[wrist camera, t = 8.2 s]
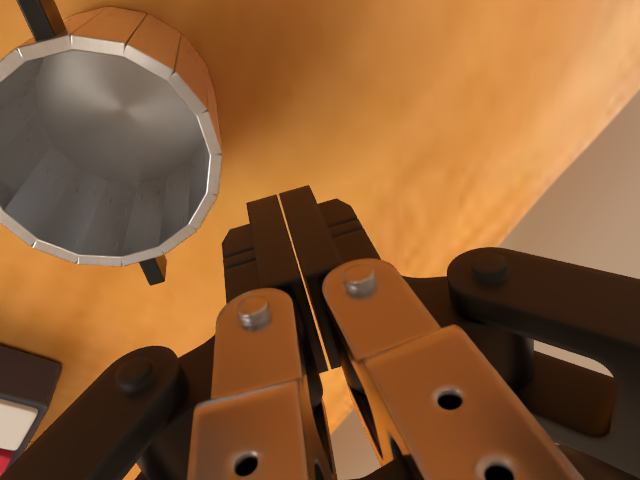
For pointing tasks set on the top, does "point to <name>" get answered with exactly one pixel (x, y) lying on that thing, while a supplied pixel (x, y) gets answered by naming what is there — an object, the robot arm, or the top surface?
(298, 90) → the top surface
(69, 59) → the pot
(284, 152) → the top surface
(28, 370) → the flat box
